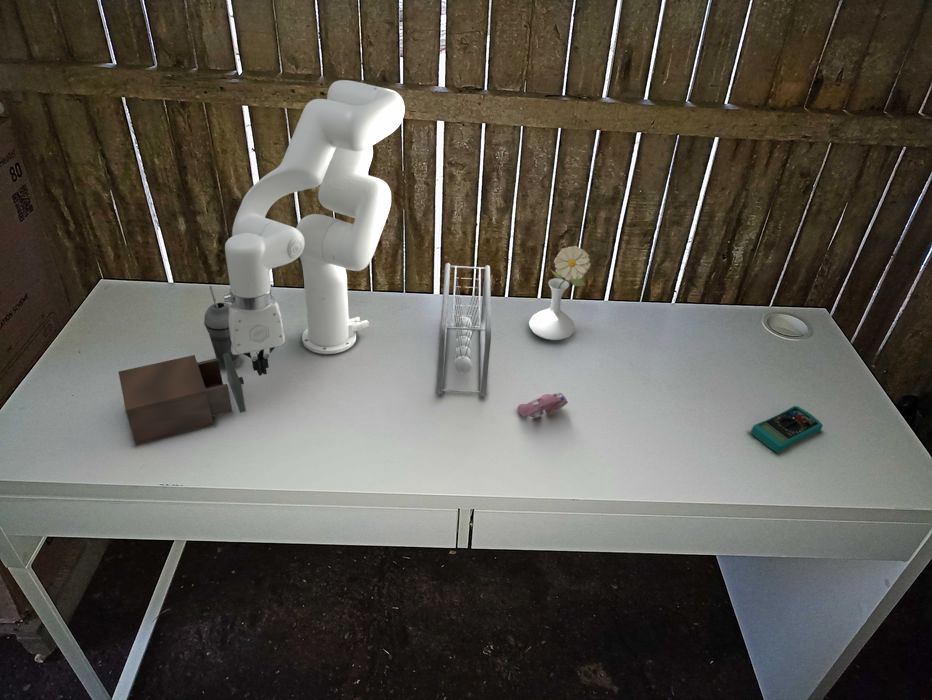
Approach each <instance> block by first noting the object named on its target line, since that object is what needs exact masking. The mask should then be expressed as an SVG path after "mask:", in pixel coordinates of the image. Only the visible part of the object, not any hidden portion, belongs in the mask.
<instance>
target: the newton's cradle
mask: <svg viewBox="0 0 932 700" xmlns="http://www.w3.org/2000/svg"><path fill="white" fill-rule="evenodd" d="M451 268H454V274H453V275H454V277H453V294H452V310H451V324H448V317H449V298H450V297H449V296H450V280H451V279H450V277H451V275H450V274H451ZM457 269H473V270H474V269H475V270H478V278H477V279H476V283H475V287H473V286H469V287H468V286H466V288H468V289H469V288H470V289H473V293H472V295H465V297H468V298H471V300H470V303H469V305H468V309H467V313H466V314H464V313H463V307H467V305H465V304H463V305H462V301H461V294H460V286H459V282H458V277H457ZM481 270H484V273H483V274H484V275H483V284H481V283H482V282H481V281H482V279H481V277H482V274H481ZM462 279H466V280H471V278H468V277H462ZM456 285H457V286H456ZM481 285H483V286H482V287H481ZM477 286H478V287H477ZM481 288H482V297H481ZM475 291H476V292H475ZM477 294H478V296H477ZM491 299H492V297H491V266H490V265H488V264H487V265H485V267H483V266H481V267H480V266H465V265H462V266H461V265H451V264H450V263H449V262H446V263H445V265H444V278H443V289H442V304H441V313H440V314H441V315H440V324H439V327H440V328H439V344H438V364H437V365H438V367H437V391H436V392H437V395H442V394H443V393H444V392H449V393H450V392H451V393H467V394H479V395H480V398H481V397H482V398H484V397H485V396H486V393H487V386H488V385H487V383H488V376H489V375H488V373H489V364H490V363H489V362H490V353H491V352H490V351H491V343H492V342H491V341H492V308H491V307H492V305H491V303H492V302H491V301H492V300H491ZM477 302H478V305H477ZM471 304H472V305H471ZM470 307H471V308H470ZM472 310H473V311H472ZM469 311H470V312H469ZM477 311H478V315H477ZM474 312H475V313H474ZM471 313H472V314H471ZM468 314H469V315H468ZM472 318H473V319H472ZM475 318H476V319H475ZM474 321H475V322H474ZM477 321H478V325H477ZM454 323H455V324H454ZM473 324H474V325H473ZM448 330H456V331H455V337H456V340H455V343H454V345H455V347H456V349H455V351H454V357H455V360H454V364H453V365H454V368H455V370H456V371H457V372H459V373H462V374H463V373H467V372H469V371H470V370H471V367H472V361H471V357H472V350H471V348H472V344H473V343H472V337H473V334H474V331H477V332H478V331H479V391H477V390H464V389H463V390H461V389H446V388H445V389H444V379H445V378H444V376H445V364H446V361H445V360H446V349H447V335H448V332H447V331H448Z"/></svg>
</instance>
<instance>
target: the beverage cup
mask: <svg viewBox="0 0 932 700" xmlns="http://www.w3.org/2000/svg"><path fill="white" fill-rule="evenodd" d="M209 290H210V294H211V297H212V301H213V304H211V305H210V306H209V307H208V308H207V309H206V311H205V313H204V320H203V321H204V323H203V325H204V327H205V328H206V331H207V333H208V335H209V338H210V342H211V345H212V349H213V353H214V355H215V358H218V361H219V366H220V369H222V370H226V367H225V361H224V356H223V354H225V353H229V354H230V357H231V359H232V362H233V364H234V367H235V368H237V367H238V366H239V365H240V356H241V355H233V354H232V352H231V344H232V342H231V339H230V334H229V304H230V303H228V302H218V301H217V298H216V296H215V292H214V289H213V286H212V285H209Z"/></svg>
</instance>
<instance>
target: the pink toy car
mask: <svg viewBox="0 0 932 700" xmlns="http://www.w3.org/2000/svg"><path fill="white" fill-rule="evenodd" d="M568 403H569V402H568V400H567V397H566V396H565V395H564V394H563V393H562V392H557V393H545V394H543V395H541V396H540V397H538V398H536V399H533V400H531V401H529V402H527V403H521V404H519V405H518V406H517V412H518V414H519V415H520V416H522V417H524V418H525V417H529V418H534V419H536V418H539V417H541V416H543V414H544V411H545V414H546V415H548V414H554V412H555V411H557V410H559V409H561V408H563V407H564V406H566V405H567V404H568Z"/></svg>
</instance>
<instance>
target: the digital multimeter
mask: <svg viewBox="0 0 932 700" xmlns="http://www.w3.org/2000/svg"><path fill="white" fill-rule="evenodd" d="M823 426H824V424H823V423H822V422H821V421H820V420H819V419H818V418H817V417H815V416H813V414H811V413H810V412H808V411H807V410H805V409H804V408H802V407H800V406H798V405H793V406H792V407H790V408H788V409H786V410H784V411H782V412H780V413H778V414H776V415H774V416H772V417H770V418H768V419H766V420H763V421H760V422H758V423H756V424H753V426H752V428H751V431H750V433H751V434H752V435H753V436H754V437H755V438H757V439H758V440H759V441H760V442H761V443H763V444H764V445H765V446H767V447H768V448H770V449H771V450H772V451H774V452H775V453H777V454H779V453H781V452H783V451H784V450H787V449H788V448H790V447H791V446H793V445H795V444H797V443H798V442H801V441H803V440H805V439H807V438H809V437H811V436H814V435H816V434H818V433H820V432H821V431H822V428H823Z"/></svg>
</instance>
